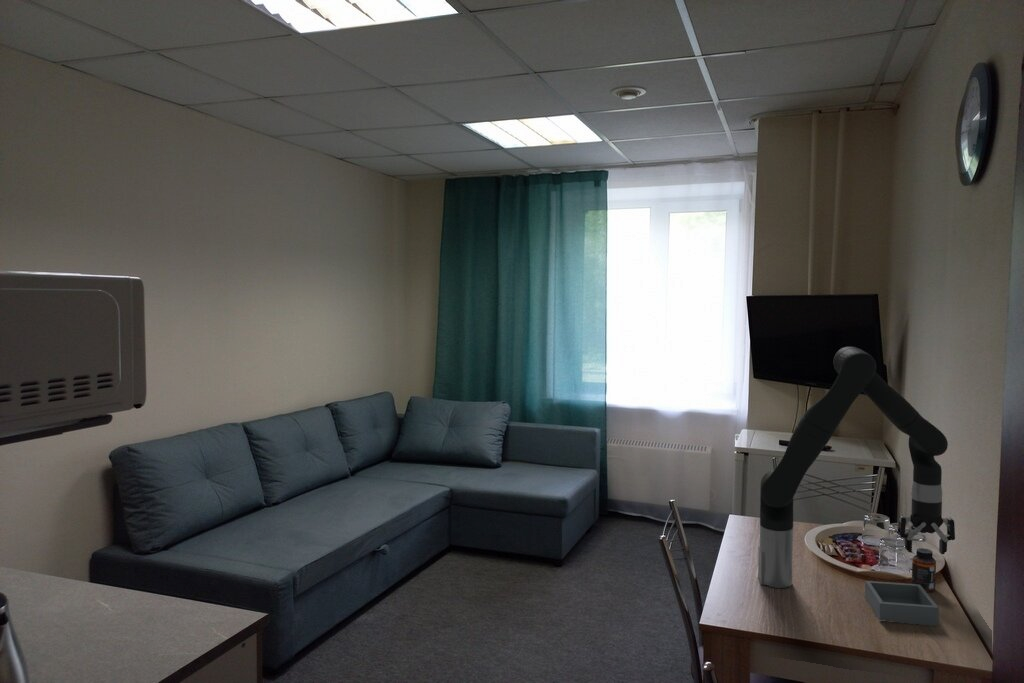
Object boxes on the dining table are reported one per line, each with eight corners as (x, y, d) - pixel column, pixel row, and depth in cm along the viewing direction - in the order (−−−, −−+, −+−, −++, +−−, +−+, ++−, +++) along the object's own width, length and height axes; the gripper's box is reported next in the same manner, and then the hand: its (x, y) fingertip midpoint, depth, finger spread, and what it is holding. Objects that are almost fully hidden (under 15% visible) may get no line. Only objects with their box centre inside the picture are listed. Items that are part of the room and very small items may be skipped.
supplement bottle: (938, 593, 201) (940, 555, 200) (915, 592, 202) (917, 553, 201) (930, 584, 207) (932, 547, 206) (908, 583, 208) (909, 546, 207)
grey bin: (879, 621, 186) (879, 603, 185) (864, 597, 199) (865, 580, 199) (938, 626, 183) (938, 607, 182) (919, 601, 196) (920, 584, 196)
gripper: (903, 500, 200) (902, 556, 201) (959, 502, 197) (958, 559, 198) (895, 492, 207) (894, 546, 209) (949, 494, 204) (948, 549, 206)
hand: (925, 552), depth 203 cm, fingers open, 8 cm apart
